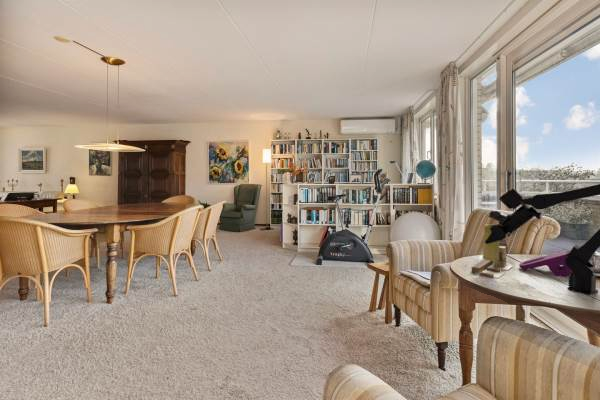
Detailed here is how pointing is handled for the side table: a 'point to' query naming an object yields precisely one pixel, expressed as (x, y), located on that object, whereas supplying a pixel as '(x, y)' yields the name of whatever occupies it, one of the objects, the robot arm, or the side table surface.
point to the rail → (492, 266)
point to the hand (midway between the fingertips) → (487, 242)
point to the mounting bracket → (550, 263)
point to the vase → (490, 246)
